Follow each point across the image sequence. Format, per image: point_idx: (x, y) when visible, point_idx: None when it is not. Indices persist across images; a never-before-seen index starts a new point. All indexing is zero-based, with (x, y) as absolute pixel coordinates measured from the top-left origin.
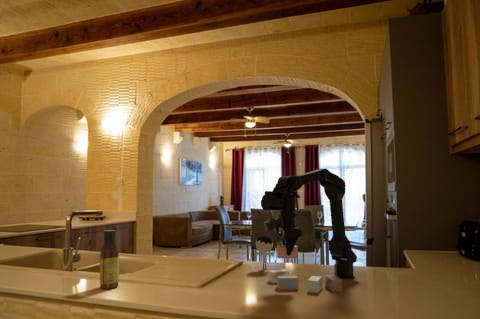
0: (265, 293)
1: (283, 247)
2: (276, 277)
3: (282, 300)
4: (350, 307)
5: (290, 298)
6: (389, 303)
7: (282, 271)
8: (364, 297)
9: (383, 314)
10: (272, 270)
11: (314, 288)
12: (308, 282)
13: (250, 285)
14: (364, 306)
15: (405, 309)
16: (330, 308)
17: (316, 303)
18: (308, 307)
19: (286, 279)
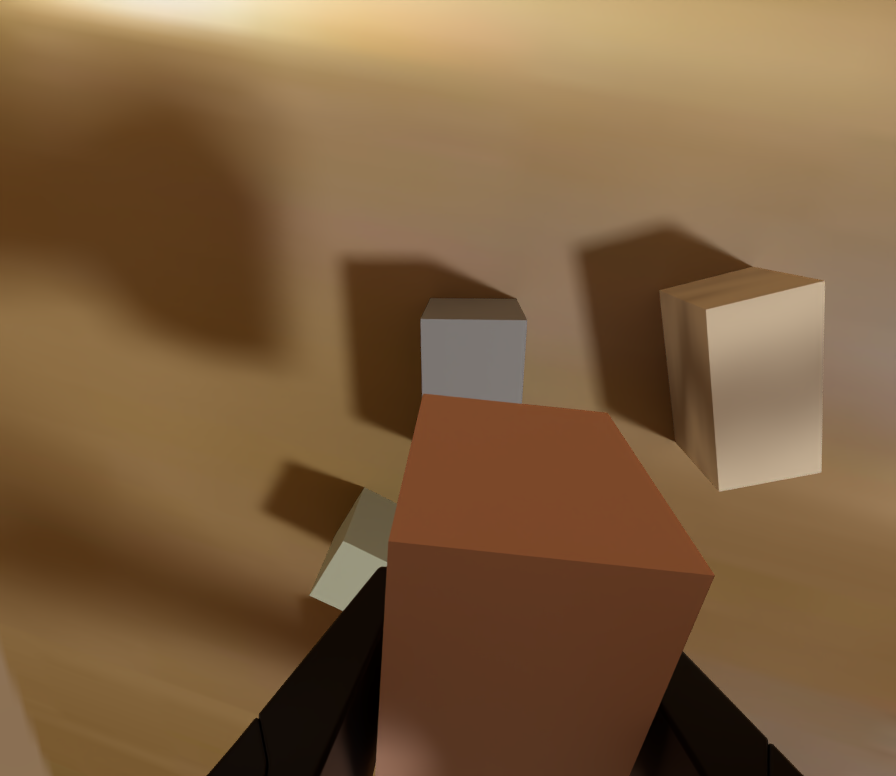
0: (316, 148)
1: (387, 642)
2: (683, 340)
3: (134, 258)
4: (75, 593)
5: (192, 330)
6: (172, 746)
7: (719, 425)
8: (256, 704)
9: (7, 669)
10: (810, 329)
11: (336, 538)
12: (344, 533)
13: (619, 20)
14: (106, 650)
15: (98, 757)
16: (32, 502)
17: (109, 461)
18: (17, 393)
19: (424, 390)
